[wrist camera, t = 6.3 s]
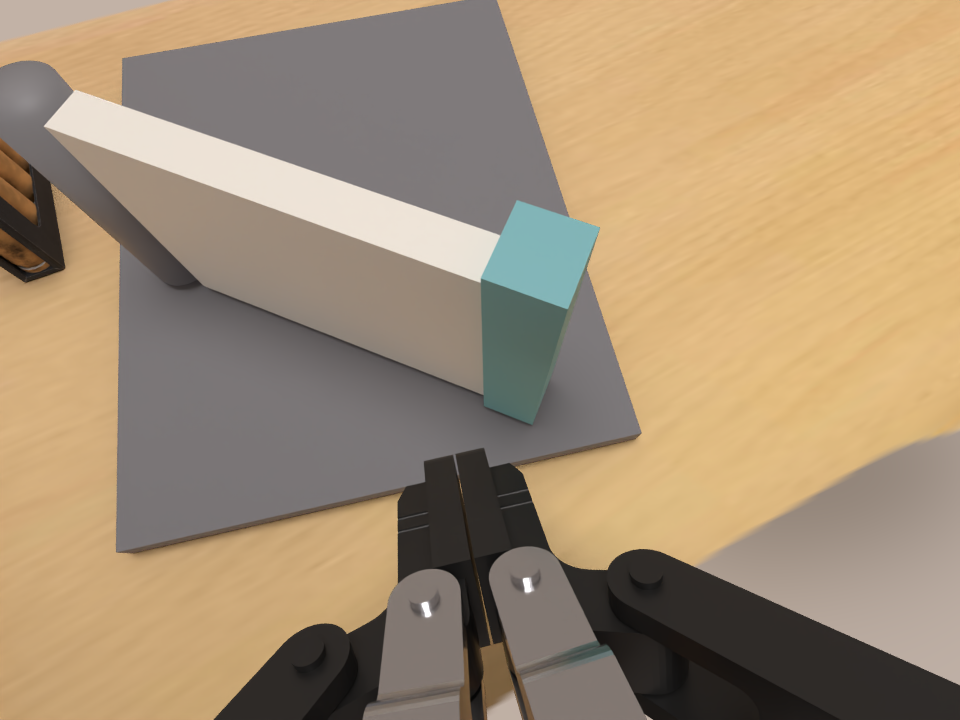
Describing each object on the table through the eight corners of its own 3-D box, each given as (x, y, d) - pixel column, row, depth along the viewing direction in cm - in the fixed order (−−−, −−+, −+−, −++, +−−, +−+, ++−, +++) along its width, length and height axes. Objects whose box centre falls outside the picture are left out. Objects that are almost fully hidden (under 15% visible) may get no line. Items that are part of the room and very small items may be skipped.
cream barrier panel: (143, 274, 24) (-82, 81, 14) (175, 230, 24) (-20, 19, 15) (531, 427, 21) (566, 313, 12) (552, 372, 22) (601, 223, 12)
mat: (132, 553, 21) (116, 552, 20) (134, 74, 30) (122, 58, 29) (635, 438, 22) (641, 433, 21) (494, 12, 31) (495, -5, 30)
